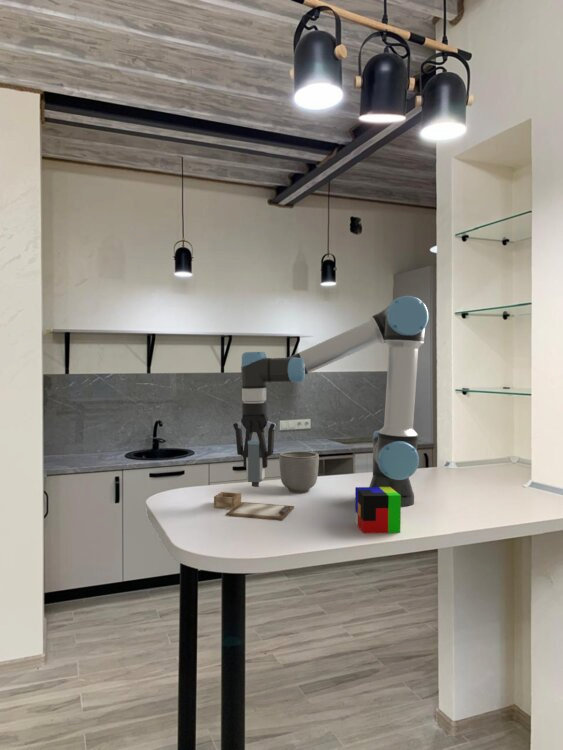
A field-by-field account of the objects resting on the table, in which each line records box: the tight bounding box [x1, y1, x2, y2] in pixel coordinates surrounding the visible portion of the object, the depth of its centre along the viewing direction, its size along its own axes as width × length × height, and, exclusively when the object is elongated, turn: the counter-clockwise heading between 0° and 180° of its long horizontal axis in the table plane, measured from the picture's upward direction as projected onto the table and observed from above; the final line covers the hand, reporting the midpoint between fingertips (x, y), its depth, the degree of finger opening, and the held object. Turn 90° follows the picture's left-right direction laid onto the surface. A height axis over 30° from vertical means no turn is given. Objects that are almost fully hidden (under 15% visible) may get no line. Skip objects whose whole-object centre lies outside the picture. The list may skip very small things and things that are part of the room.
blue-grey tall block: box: [247, 439, 263, 488], centre depth 169 cm, size 4×4×14 cm
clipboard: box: [225, 501, 295, 521], centre depth 165 cm, size 17×14×1 cm
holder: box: [213, 491, 242, 510], centre depth 171 cm, size 7×7×3 cm
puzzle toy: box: [354, 486, 402, 534], centre depth 150 cm, size 10×10×10 cm
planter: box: [278, 450, 320, 494], centre depth 192 cm, size 14×14×13 cm
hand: (255, 477), depth 169 cm, fingers closed on blue-grey tall block, 3 cm apart
